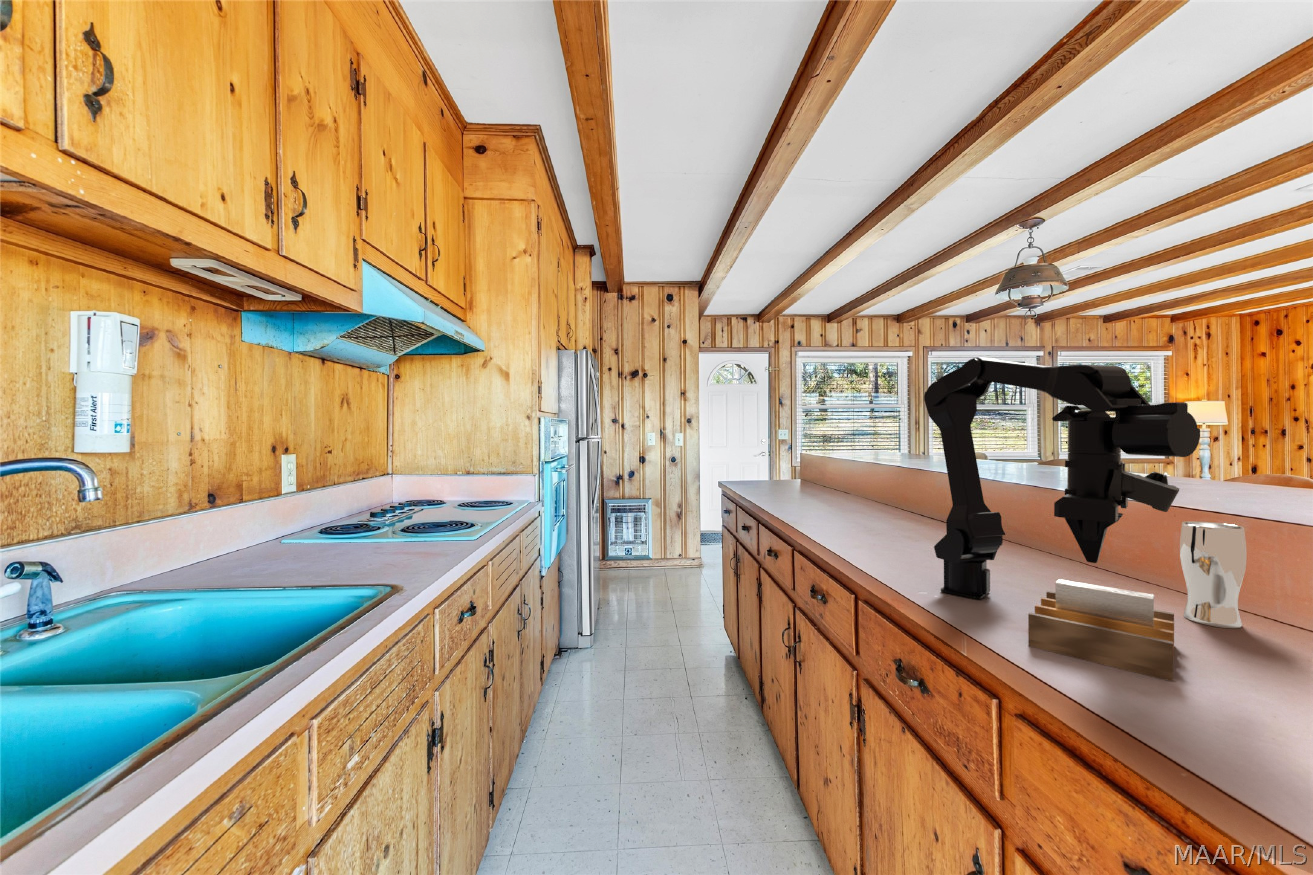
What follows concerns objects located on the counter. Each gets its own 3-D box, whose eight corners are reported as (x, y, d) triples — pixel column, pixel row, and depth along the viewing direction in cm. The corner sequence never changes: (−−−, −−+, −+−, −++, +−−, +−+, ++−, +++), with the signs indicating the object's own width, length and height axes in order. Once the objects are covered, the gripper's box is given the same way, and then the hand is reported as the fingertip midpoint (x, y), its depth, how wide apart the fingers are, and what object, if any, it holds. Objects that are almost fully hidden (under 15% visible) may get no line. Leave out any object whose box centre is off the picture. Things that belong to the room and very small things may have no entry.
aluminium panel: (1055, 631, 72) (1055, 582, 72) (1058, 626, 74) (1058, 579, 74) (1152, 652, 65) (1153, 599, 65) (1153, 647, 67) (1154, 594, 67)
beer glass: (1191, 624, 77) (1191, 526, 77) (1171, 610, 83) (1171, 519, 83) (1257, 632, 74) (1257, 530, 73) (1231, 617, 80) (1231, 522, 80)
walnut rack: (1028, 646, 70) (1028, 613, 70) (1047, 618, 80) (1047, 590, 80) (1172, 681, 60) (1172, 643, 60) (1174, 645, 70) (1174, 612, 70)
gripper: (1172, 458, 59) (1170, 590, 60) (1176, 452, 72) (1174, 560, 73) (1053, 455, 68) (1052, 570, 68) (1076, 450, 80) (1074, 547, 81)
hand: (1092, 562), depth 72 cm, fingers closed
